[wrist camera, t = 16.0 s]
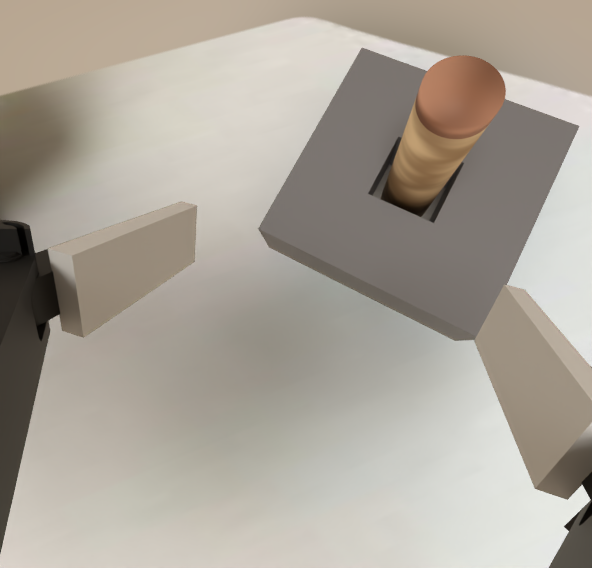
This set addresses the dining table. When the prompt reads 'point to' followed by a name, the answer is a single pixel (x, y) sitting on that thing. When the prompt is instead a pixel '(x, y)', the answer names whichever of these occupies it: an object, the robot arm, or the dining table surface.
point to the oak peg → (442, 129)
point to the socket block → (402, 224)
